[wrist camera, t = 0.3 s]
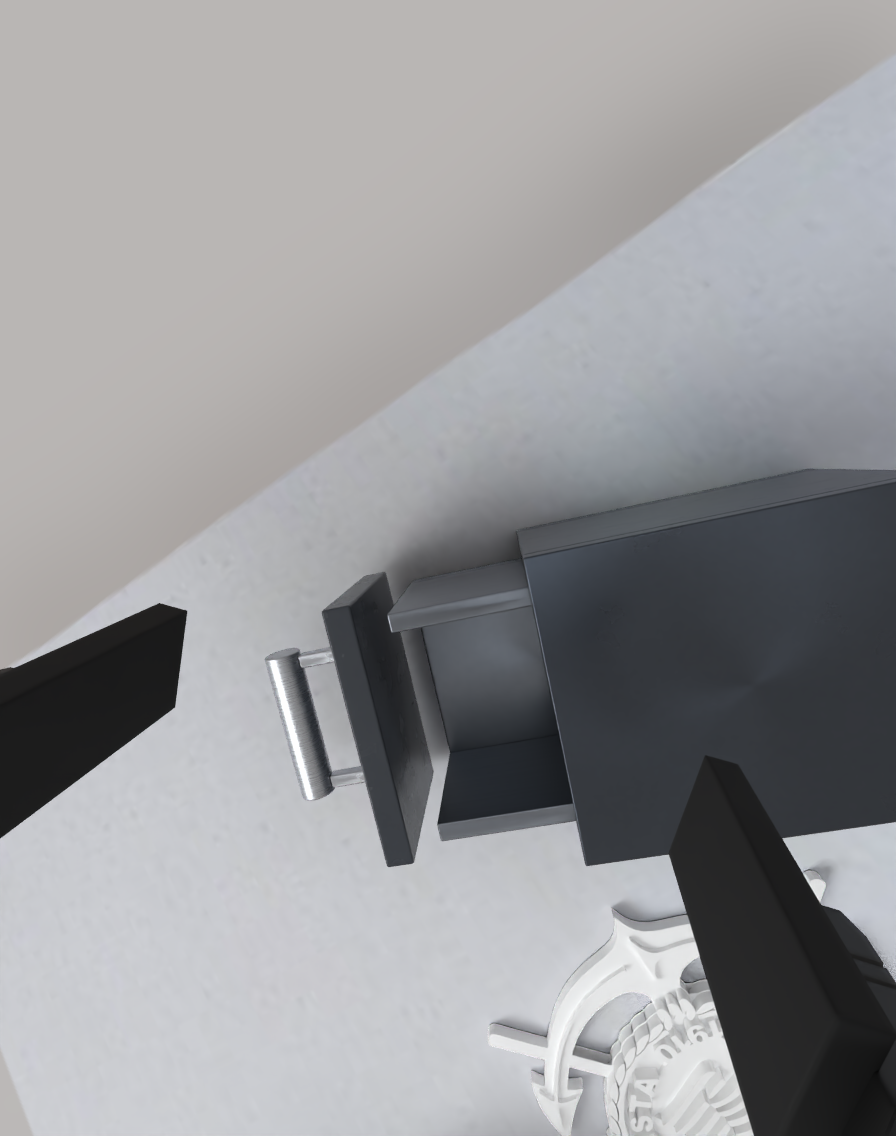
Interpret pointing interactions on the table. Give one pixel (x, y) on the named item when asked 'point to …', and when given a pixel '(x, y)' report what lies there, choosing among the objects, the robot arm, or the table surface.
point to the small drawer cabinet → (723, 654)
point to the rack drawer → (466, 700)
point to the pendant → (641, 1039)
